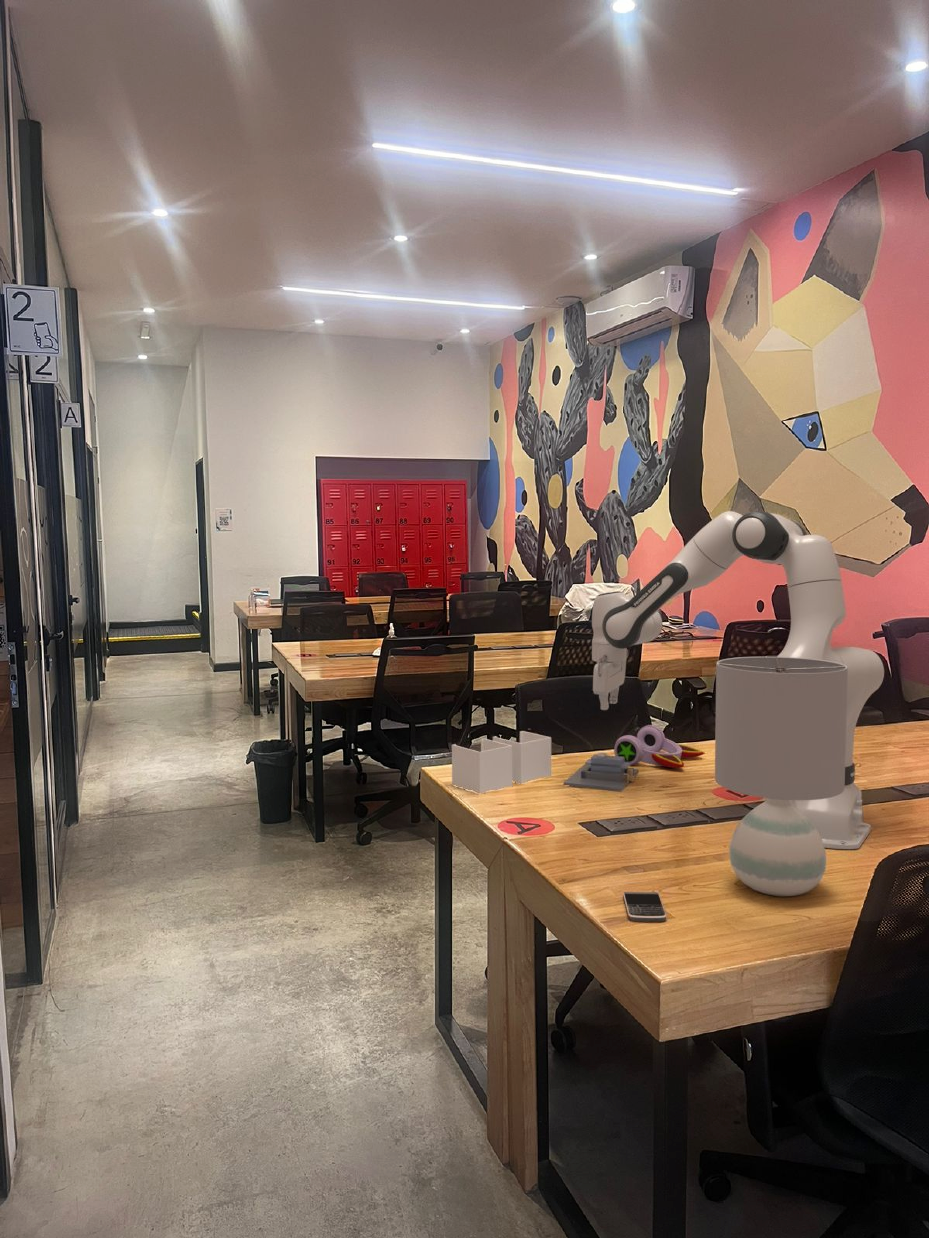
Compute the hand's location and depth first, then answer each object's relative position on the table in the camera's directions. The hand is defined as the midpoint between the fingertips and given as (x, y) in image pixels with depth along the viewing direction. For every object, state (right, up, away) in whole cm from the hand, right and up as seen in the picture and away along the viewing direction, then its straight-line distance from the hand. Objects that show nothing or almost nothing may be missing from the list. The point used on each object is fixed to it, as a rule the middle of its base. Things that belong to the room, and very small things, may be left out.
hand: (609, 706), depth 229 cm
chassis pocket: (-1, -19, +2) cm, 19 cm away
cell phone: (-7, -27, -80) cm, 85 cm away
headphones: (+18, -18, +21) cm, 33 cm away
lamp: (+18, -26, -71) cm, 78 cm away
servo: (0, -19, +2) cm, 20 cm away
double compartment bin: (-28, -20, +1) cm, 34 cm away
